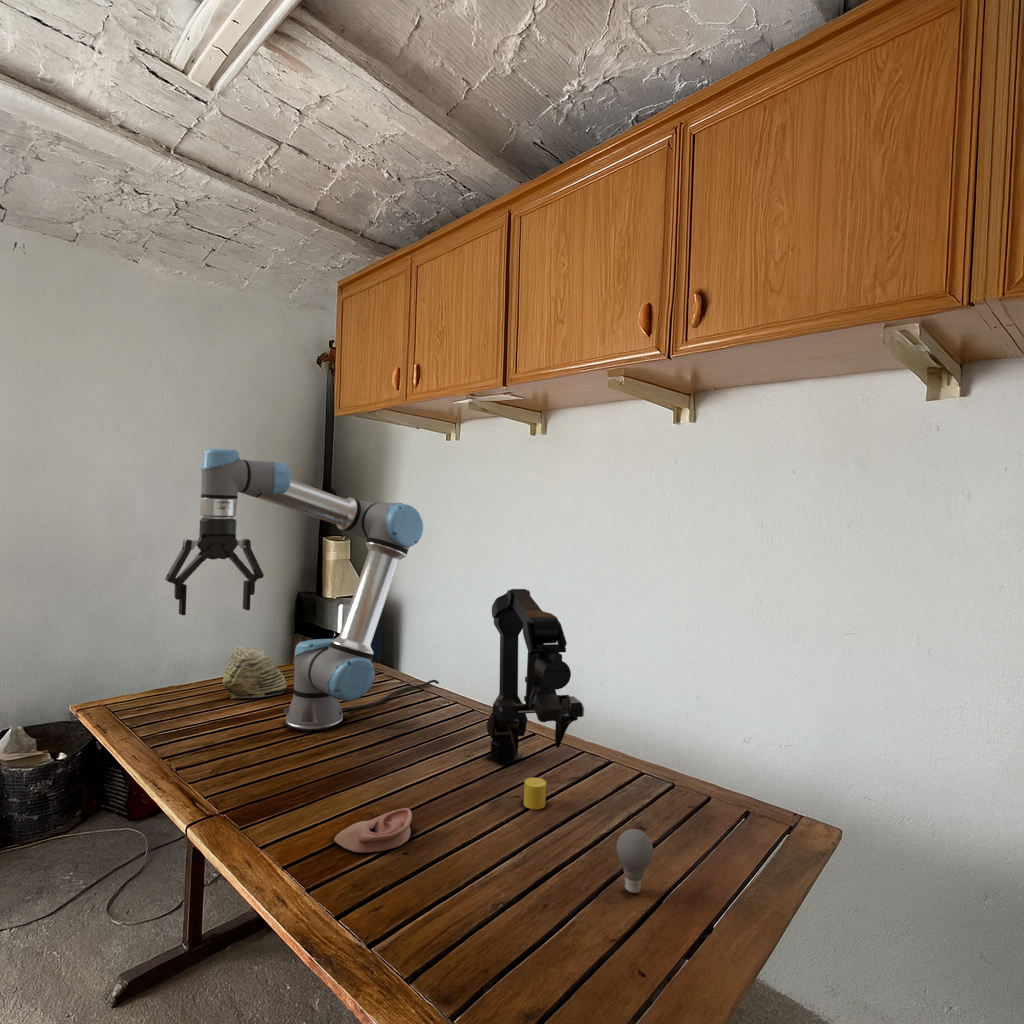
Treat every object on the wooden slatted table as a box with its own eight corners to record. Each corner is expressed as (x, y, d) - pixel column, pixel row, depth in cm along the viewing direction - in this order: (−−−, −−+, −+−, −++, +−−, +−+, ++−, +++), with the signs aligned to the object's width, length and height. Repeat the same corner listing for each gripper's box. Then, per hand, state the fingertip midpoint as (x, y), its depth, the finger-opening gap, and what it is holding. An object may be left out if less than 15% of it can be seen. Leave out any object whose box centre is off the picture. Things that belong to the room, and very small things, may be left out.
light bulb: (610, 879, 108) (613, 822, 108) (644, 879, 109) (647, 822, 109) (619, 902, 102) (622, 840, 102) (655, 901, 103) (658, 840, 103)
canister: (524, 809, 132) (525, 786, 132) (522, 799, 137) (523, 777, 137) (546, 809, 132) (547, 787, 132) (543, 799, 137) (544, 777, 137)
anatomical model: (326, 826, 114) (355, 797, 125) (325, 847, 114) (354, 817, 126) (396, 837, 112) (418, 806, 123) (395, 859, 112) (417, 827, 123)
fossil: (218, 695, 195) (220, 647, 195) (278, 685, 208) (279, 640, 207) (228, 703, 189) (230, 653, 188) (289, 692, 201) (290, 645, 201)
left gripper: (160, 517, 131) (156, 619, 132) (280, 519, 148) (276, 609, 148) (152, 515, 137) (149, 613, 137) (268, 517, 153) (265, 604, 154)
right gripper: (508, 688, 124) (504, 767, 124) (596, 684, 129) (592, 760, 129) (493, 672, 134) (490, 745, 135) (575, 670, 140) (572, 740, 140)
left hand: (215, 611), depth 143 cm, fingers open, 13 cm apart
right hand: (536, 748), depth 134 cm, fingers open, 9 cm apart
